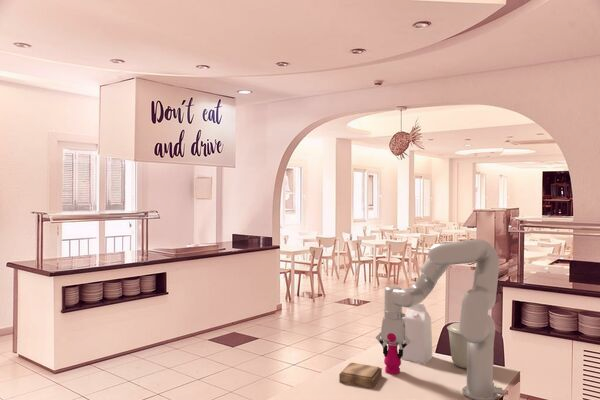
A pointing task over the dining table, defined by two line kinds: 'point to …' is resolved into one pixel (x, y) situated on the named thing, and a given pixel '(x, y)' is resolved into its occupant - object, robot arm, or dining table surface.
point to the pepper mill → (392, 356)
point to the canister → (457, 346)
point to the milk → (418, 334)
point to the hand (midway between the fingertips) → (392, 356)
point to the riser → (360, 375)
